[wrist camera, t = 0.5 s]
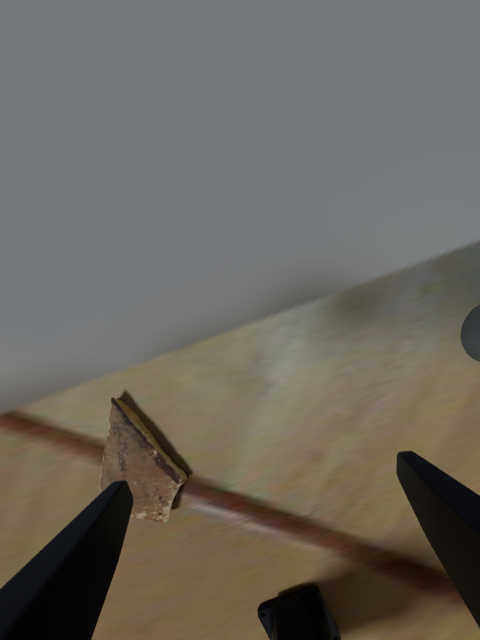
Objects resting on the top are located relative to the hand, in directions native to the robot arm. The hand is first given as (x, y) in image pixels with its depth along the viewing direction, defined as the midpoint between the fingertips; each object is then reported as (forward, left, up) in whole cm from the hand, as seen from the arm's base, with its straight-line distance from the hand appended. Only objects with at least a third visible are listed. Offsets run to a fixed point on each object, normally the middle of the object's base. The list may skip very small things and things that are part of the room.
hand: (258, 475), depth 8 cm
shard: (-5, +14, -15) cm, 21 cm away
